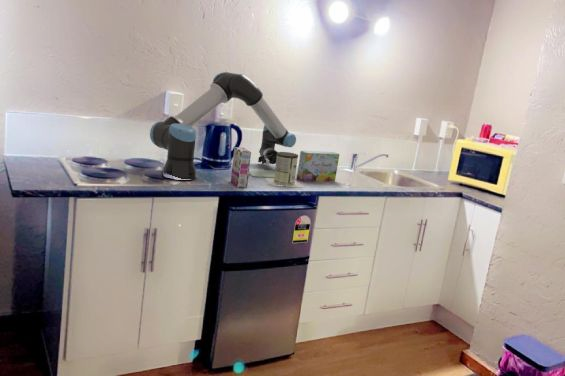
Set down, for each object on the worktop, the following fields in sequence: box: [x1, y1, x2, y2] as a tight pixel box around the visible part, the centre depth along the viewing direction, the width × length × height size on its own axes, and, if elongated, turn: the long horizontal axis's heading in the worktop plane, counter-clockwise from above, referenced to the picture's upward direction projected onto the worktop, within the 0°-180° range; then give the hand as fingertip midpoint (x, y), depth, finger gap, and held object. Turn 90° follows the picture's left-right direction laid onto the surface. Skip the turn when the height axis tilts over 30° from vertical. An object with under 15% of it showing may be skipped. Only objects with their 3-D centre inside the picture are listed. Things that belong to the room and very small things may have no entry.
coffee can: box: [274, 151, 299, 185], centre depth 236 cm, size 10×10×14 cm
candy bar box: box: [230, 146, 252, 189], centre depth 220 cm, size 11×5×16 cm, turn 22°
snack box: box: [296, 150, 340, 183], centre depth 251 cm, size 21×6×15 cm, turn 122°
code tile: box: [264, 178, 305, 189], centre depth 238 cm, size 16×16×1 cm
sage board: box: [248, 168, 275, 179], centre depth 252 cm, size 16×16×1 cm
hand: (281, 164), depth 244 cm, fingers open, 13 cm apart
